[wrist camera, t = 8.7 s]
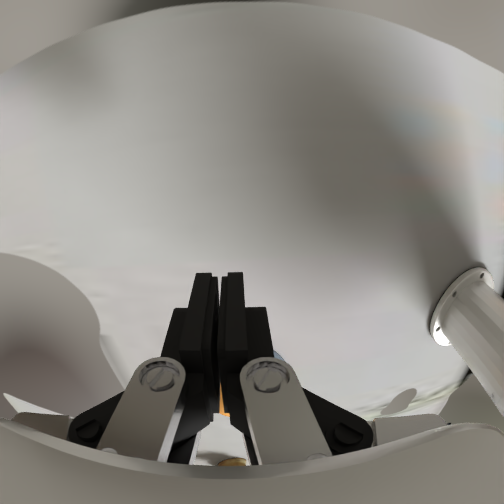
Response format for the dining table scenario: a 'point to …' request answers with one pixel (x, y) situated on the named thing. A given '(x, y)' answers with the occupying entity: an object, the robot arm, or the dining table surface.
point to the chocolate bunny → (233, 462)
